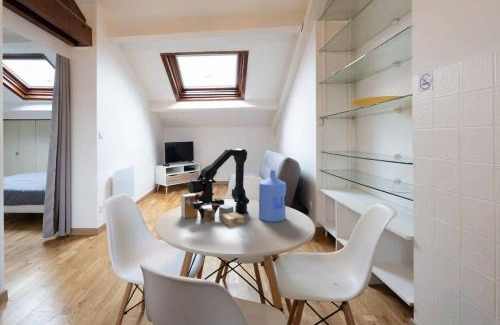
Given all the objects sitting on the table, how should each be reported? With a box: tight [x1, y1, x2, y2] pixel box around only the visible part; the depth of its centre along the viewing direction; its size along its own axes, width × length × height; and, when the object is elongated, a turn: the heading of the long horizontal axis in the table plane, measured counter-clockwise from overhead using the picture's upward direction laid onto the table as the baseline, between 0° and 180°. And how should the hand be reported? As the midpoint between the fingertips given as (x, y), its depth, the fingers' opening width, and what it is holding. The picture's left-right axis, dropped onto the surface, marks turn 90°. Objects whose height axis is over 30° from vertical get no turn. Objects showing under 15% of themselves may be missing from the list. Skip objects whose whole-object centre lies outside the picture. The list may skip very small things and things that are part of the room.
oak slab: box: [219, 211, 245, 227], centre depth 141 cm, size 10×10×4 cm
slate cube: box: [218, 204, 234, 218], centre depth 151 cm, size 6×6×6 cm
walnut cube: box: [200, 207, 216, 223], centre depth 144 cm, size 6×6×6 cm
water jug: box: [258, 169, 287, 223], centre depth 147 cm, size 16×16×28 cm
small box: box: [180, 193, 199, 219], centre depth 150 cm, size 8×6×13 cm
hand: (207, 218), depth 144 cm, fingers closed on walnut cube, 6 cm apart
